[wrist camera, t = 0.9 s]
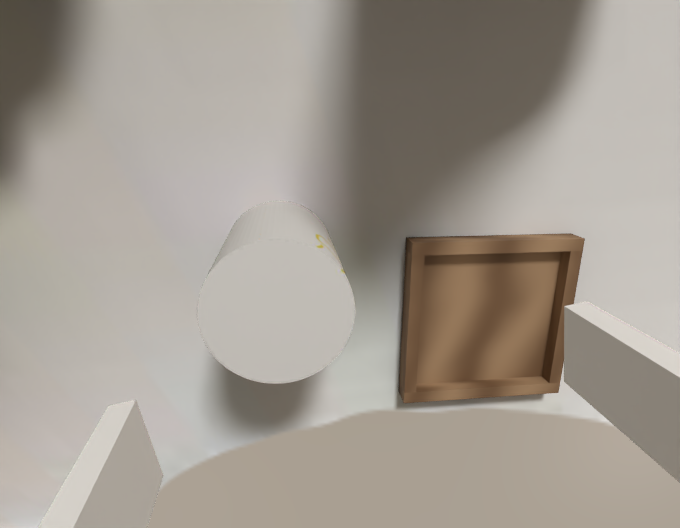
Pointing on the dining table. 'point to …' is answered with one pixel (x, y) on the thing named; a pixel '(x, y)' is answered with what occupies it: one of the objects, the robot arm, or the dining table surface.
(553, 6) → the dining table surface
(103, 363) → the dining table surface
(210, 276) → the grey upright rounded piece
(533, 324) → the tray
